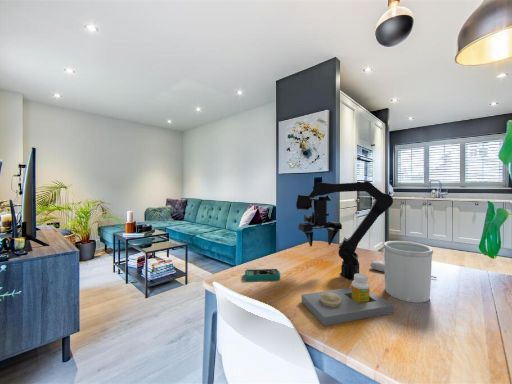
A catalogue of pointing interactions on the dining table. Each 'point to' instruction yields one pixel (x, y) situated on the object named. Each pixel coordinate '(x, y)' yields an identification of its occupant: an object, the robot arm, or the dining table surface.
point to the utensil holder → (408, 270)
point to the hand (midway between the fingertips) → (320, 245)
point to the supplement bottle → (360, 289)
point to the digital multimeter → (262, 274)
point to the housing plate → (344, 306)
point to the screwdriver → (381, 266)
